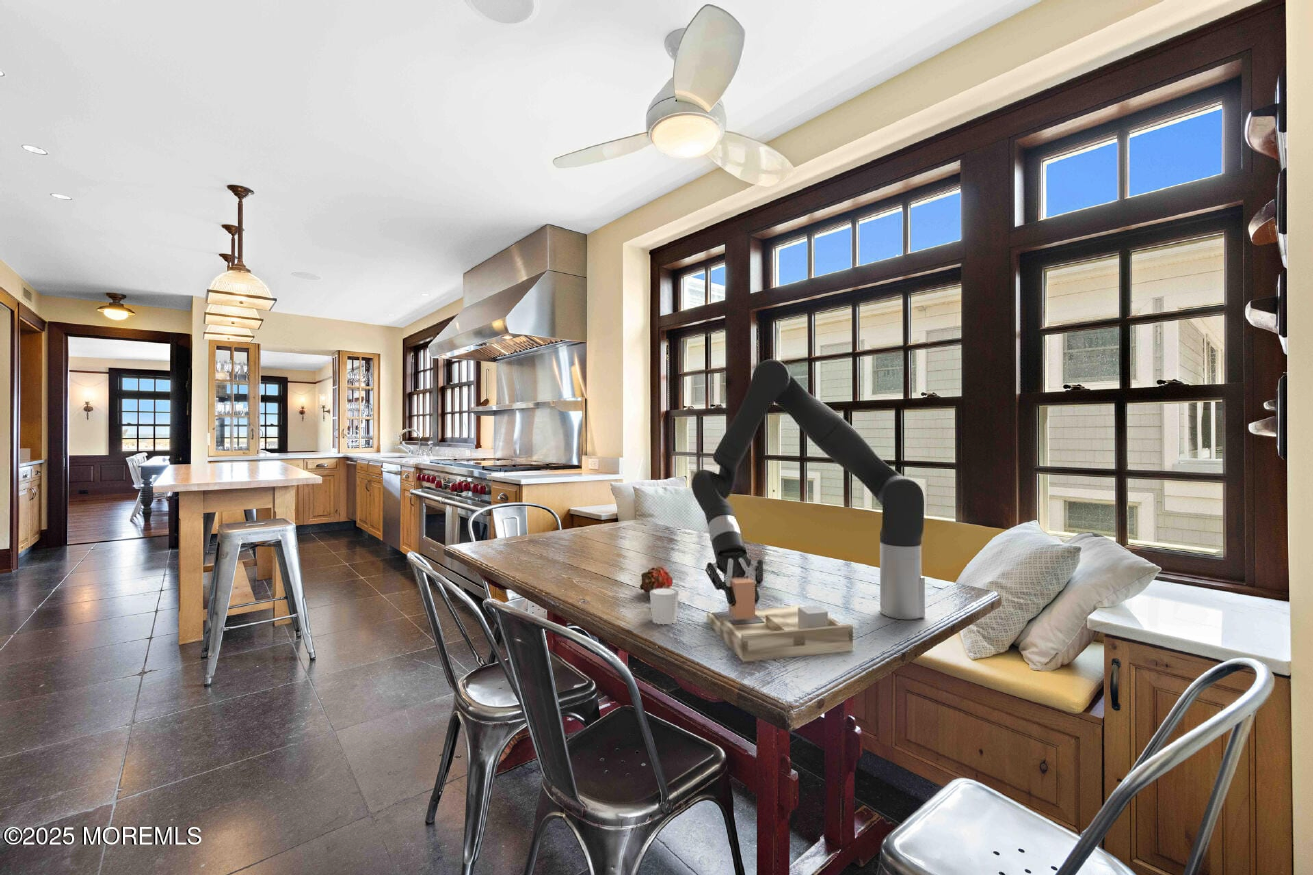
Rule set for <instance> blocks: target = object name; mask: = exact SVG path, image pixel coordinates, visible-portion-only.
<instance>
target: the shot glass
mask: <svg viewBox="0 0 1313 875" xmlns="http://www.w3.org/2000/svg"><path fill="white" fill-rule="evenodd" d="M679 593H680V592H679V590H678V589H675V588H671V587H670V588H657V589H653V590H651V591H650V595H649V597H650V598H649V599H650V609H651V617H652V619H651V620H652V623H653V624H656V623H657V624H656V625H660V624H663V626H665V625H664V624H668V625H672V623H673V624H676V622H677V616H678V615H677V614H678V602H679Z"/></svg>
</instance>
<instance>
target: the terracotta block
mask: <svg viewBox="0 0 1313 875" xmlns="http://www.w3.org/2000/svg"><path fill="white" fill-rule="evenodd" d="M730 580H731V587H732V588H733V592H734V595H735V599H736V604H735V606H731V604H729V603H728V611H729V614H730V615H731V616H732V617H733V618H734V619H735V620H739V619H751V618H755V609H756V605H755V582H754V581H753V580H751V579H750V578H747V577H739V578H736V577H735V578H732V579H730Z"/></svg>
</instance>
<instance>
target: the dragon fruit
mask: <svg viewBox="0 0 1313 875" xmlns="http://www.w3.org/2000/svg"><path fill="white" fill-rule="evenodd" d="M640 575H641V579H640V580H641V583H640V585H639V589H640V590H642V591H643V592H644V593H646V594H648V595H649V596H650V591H651V590H653V589H657V588H671V587H672V586H673V577H672V576H671V575H670V573H669V572H668V571H667V570H666V569H665V568H664V567H662V566H661V565H659V566H656V567H652V568H650V569H648V570H647V571H645V572H643V573H642V574H640Z"/></svg>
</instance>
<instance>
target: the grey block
mask: <svg viewBox="0 0 1313 875" xmlns="http://www.w3.org/2000/svg"><path fill="white" fill-rule="evenodd" d="M828 616H829V612H828V611H827V610H825V609H823V608H822V607H821V606H819V605H810V606H808V605H807V606H801V607H798V629H807V628H818V627H828Z"/></svg>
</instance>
